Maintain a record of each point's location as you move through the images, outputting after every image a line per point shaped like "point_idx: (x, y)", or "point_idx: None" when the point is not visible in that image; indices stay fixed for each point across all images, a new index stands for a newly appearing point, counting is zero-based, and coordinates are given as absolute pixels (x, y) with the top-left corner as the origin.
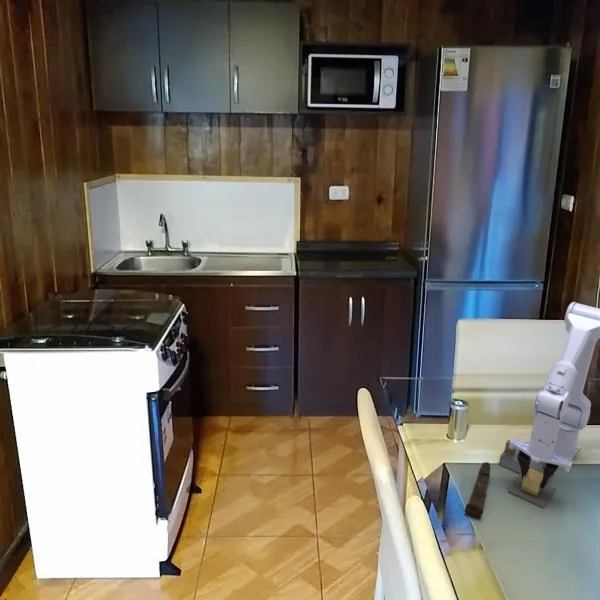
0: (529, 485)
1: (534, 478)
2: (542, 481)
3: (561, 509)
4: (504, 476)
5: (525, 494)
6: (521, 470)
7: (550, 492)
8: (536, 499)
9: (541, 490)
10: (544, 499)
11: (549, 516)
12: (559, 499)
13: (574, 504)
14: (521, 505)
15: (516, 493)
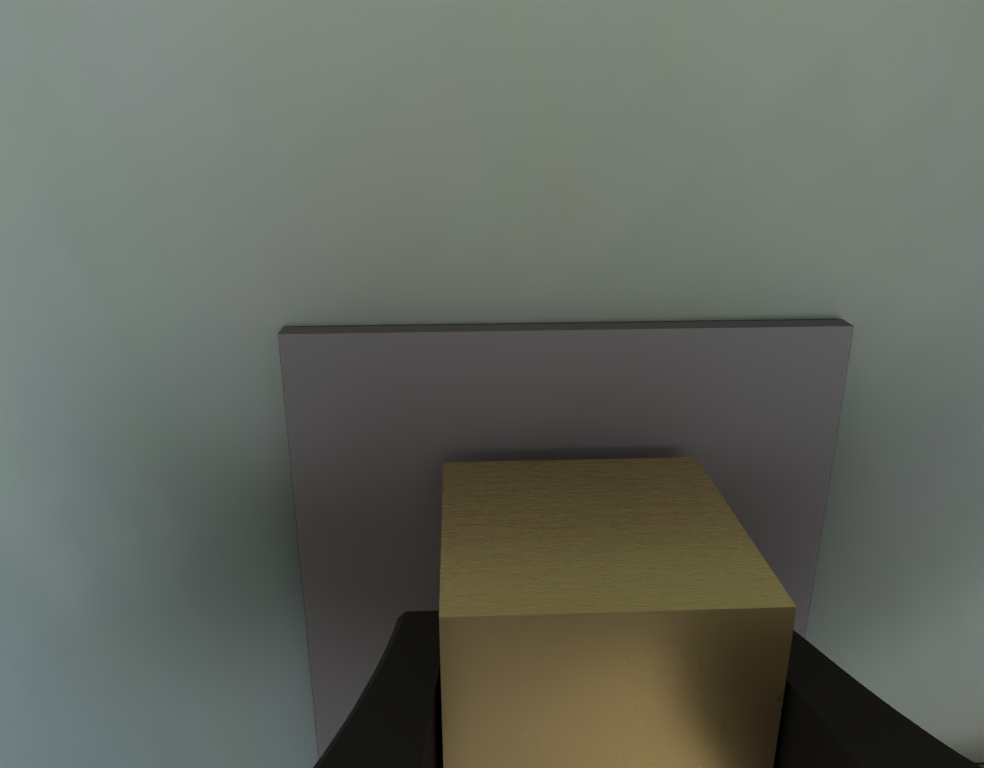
0: (610, 527)
1: (585, 679)
2: (421, 697)
3: (95, 474)
4: (949, 602)
5: (604, 421)
6: (899, 715)
7: (344, 679)
8: (436, 421)
9: None
10: (346, 496)
11: (143, 203)
12: (211, 641)
13: (28, 673)
14: (575, 157)
15: (723, 352)
